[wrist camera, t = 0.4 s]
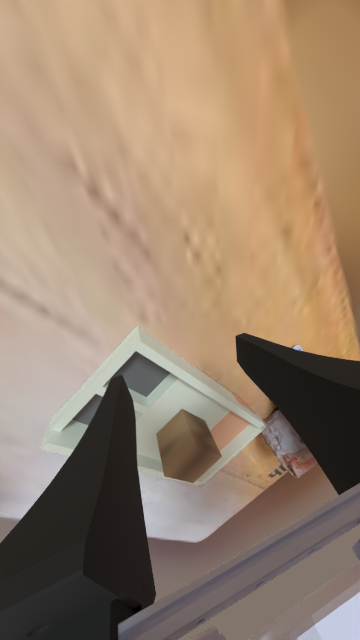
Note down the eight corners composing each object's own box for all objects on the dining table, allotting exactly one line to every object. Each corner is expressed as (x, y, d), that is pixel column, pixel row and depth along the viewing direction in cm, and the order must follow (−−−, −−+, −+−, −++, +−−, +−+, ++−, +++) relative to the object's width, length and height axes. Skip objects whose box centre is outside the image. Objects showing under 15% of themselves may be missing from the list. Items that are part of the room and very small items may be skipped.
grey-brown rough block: (263, 438, 38) (305, 498, 29) (250, 421, 34) (295, 483, 25) (317, 399, 38) (375, 447, 29) (310, 377, 34) (375, 425, 25)
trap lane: (253, 408, 32) (267, 426, 29) (193, 464, 34) (201, 486, 31) (137, 325, 20) (140, 341, 17) (51, 418, 21) (40, 449, 18)
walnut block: (205, 420, 27) (222, 456, 22) (181, 443, 27) (193, 483, 23) (181, 408, 24) (195, 446, 20) (156, 433, 25) (164, 476, 20)
